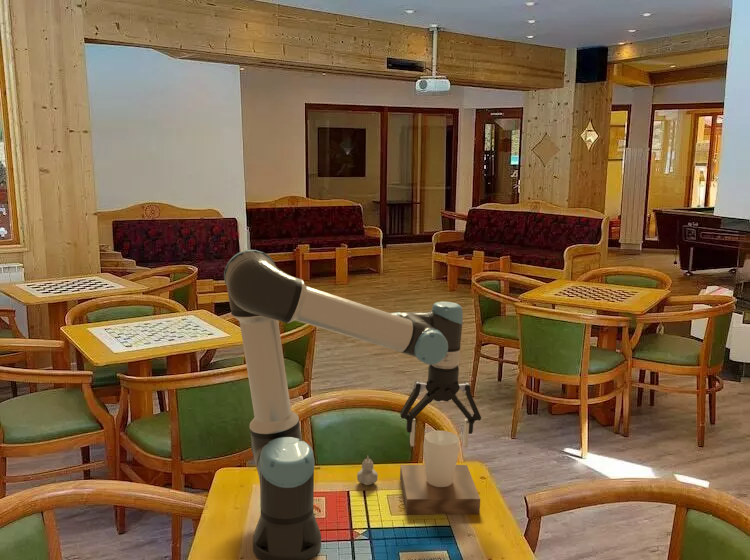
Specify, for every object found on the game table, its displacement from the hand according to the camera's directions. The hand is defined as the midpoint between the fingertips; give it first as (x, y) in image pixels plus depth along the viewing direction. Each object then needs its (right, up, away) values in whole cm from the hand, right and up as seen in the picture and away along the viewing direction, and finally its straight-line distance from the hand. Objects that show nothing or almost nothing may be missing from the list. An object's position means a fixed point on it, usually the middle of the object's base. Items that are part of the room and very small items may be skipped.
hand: (438, 444), depth 172 cm
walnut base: (0, -14, +3) cm, 14 cm away
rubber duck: (-18, -13, +8) cm, 23 cm away
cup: (0, -10, +2) cm, 10 cm away
